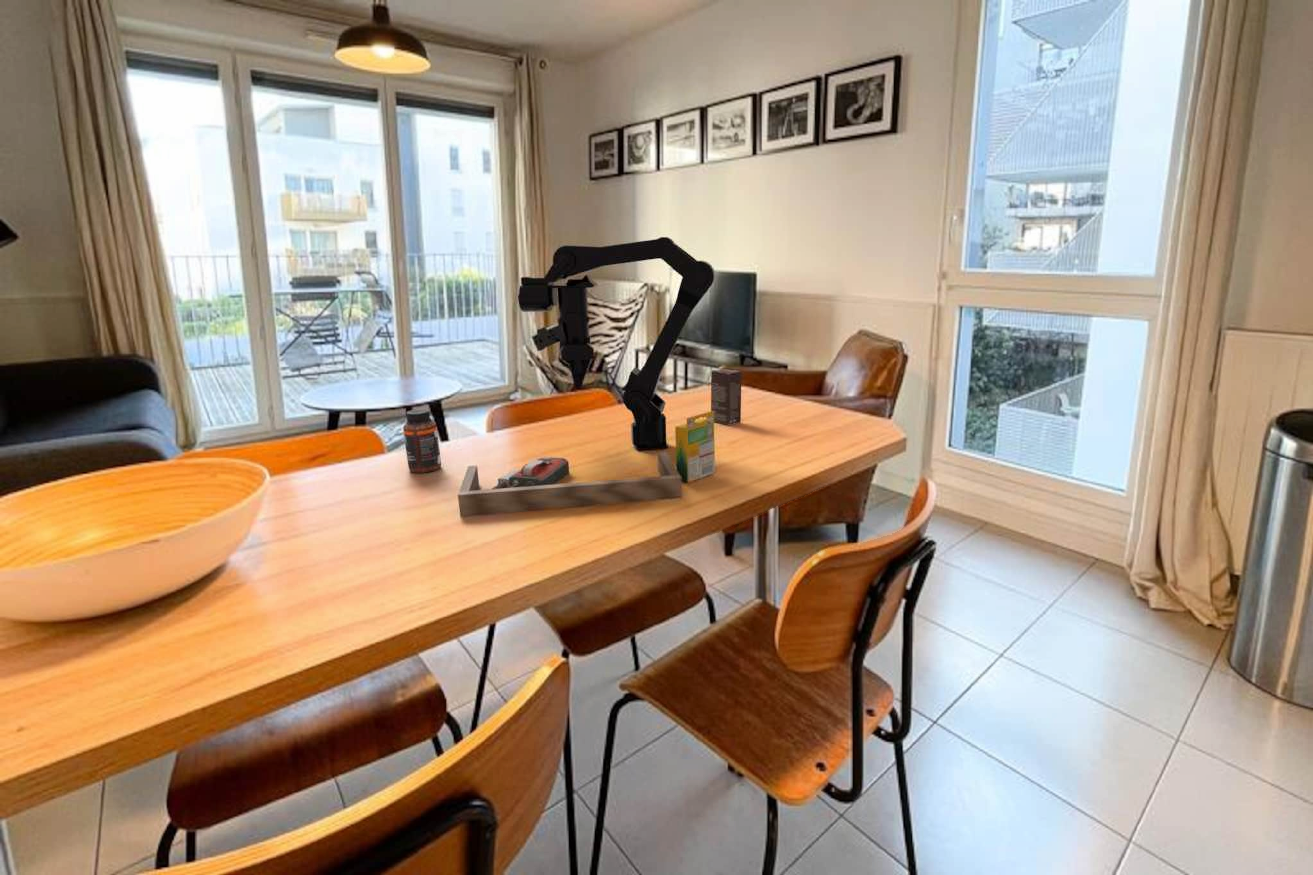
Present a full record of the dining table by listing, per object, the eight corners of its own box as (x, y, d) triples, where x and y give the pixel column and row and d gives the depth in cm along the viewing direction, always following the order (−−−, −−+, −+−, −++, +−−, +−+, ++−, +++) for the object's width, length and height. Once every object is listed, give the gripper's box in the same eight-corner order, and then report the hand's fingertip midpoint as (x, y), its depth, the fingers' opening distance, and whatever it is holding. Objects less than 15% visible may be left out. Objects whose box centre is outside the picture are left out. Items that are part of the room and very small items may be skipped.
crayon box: (703, 469, 122) (702, 408, 119) (715, 473, 120) (715, 410, 117) (675, 479, 118) (674, 415, 114) (688, 483, 115) (687, 418, 112)
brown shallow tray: (666, 470, 123) (666, 452, 122) (681, 498, 109) (681, 477, 108) (470, 485, 118) (468, 466, 117) (460, 516, 104) (457, 495, 103)
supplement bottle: (448, 466, 128) (441, 408, 125) (426, 475, 123) (418, 416, 120) (424, 462, 131) (417, 406, 128) (401, 472, 126) (393, 413, 123)
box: (742, 422, 155) (742, 370, 151) (728, 426, 152) (728, 373, 148) (723, 417, 159) (723, 367, 156) (709, 421, 156) (709, 370, 153)
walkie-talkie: (531, 469, 126) (473, 507, 108) (529, 446, 125) (470, 482, 107) (574, 472, 124) (522, 512, 105) (573, 449, 123) (520, 486, 104)
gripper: (533, 308, 140) (538, 382, 144) (531, 317, 122) (537, 400, 127) (586, 306, 142) (590, 379, 146) (592, 314, 124) (596, 397, 128)
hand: (577, 388), depth 137 cm, fingers closed
